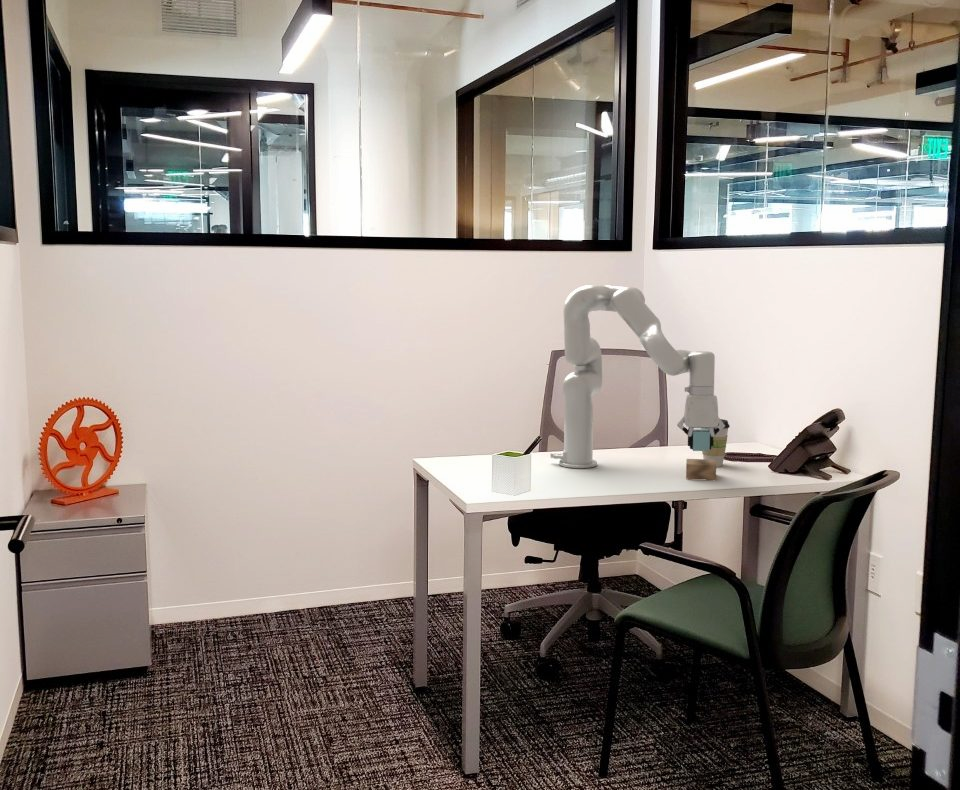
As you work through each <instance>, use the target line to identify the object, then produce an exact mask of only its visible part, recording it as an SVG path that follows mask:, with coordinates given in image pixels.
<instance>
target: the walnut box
mask: <svg viewBox="0 0 960 790" xmlns="http://www.w3.org/2000/svg"><path fill="white" fill-rule="evenodd" d="M685 463H686V464H685V466H686V467H685V469H686V470H685V472H686V473H685V479H686V478H688V479H687V480H691V479H706V480H705V481H713V480H716V481H717V467H716V460H706V459H703V458H701V459H700V458H686V462H685Z"/></svg>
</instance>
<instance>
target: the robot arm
mask: <svg viewBox="0 0 960 790" xmlns="http://www.w3.org/2000/svg"><path fill="white" fill-rule="evenodd" d="M645 302H646V298H645V295H644V293H643V292H642V291H641V290H640V289H638V288H637V287H632V286H627V287H626V286H613V285H605V284H589V285H588V284H587V285H583V286H580V287H578V288H576V289H574V290H573V291H572V292H571V293H570V294H569V295H568V296H567V298H566V300H565V301H564V306H563V328H564V329H563V333H564V334H563V335H564V338H563V339H564V356H565V357H564V358H565V361H566V362H567V364H569V365H570V366H573V367H574V368H575V369H574V371H572V372H570V373H568V375H567V376H566V377H565V378H564V380H563V383H562V396H563V397H562V398H563V409H564V410H563V411H564V412H563V416H564V417H563V418H564V419H563V420H564V421H563V422H564V423H563V428H564V429H563V430H564V431H563V432H564V433H563V450H562V451H559V452H556V451H555V452H553V451H551V452H550V459H554V460H555V459H557V460H558V459H560V460H559V462H558V464H559V466H561V467H565V468H572V469H588V468H589V469H590V468H594V467H596V466H597V465H598V461H597V460H596V459H593V457H594V455H593V454H594V453H593V450H594V449H593V448H594V447H593V446H594V445H593V444H594V443H593V442H594V440H593V439H594V437H593V436H594V406H593V401H592V397H593V396H595V395H596V394H598V393H599V392H600V391H601V389H602V385H603V362H602V349H601V346H600V344H599V342H598V341H597V340H596V339H594V338H593V337H591V323H590V319H589V313H591V312H597V311H601V312H602V311H604V312H605V311H606V312H614V313H617V314H618V315H619V316H620V318H622V321H624V322H625V323H626V324H627V326H628V327H629V328H630V329H631V330H632V331H633V333H634V334H635V335H636V336H637V337H638V340H639V341H640V344H641V345H642V347H643V348H644V350H645V353H647V354H648V356H649V357H650V359H651V360H652V361H653V363H655V365H657V367H658V368H659V369H660V370H661V371H662V372H663V373H665V374H666V375H668V376H671V377H675V376H679V375H682V374H685V373H689V383H688V386H687V387H684V392H686V393H688V395H687V396H686V399H685V403H684V404H685V405H684V413H683V414H684V415H683V416H682V418H680V420H679V421H678V422H677V424H676V426H677V428H679V429H680V430H681V431H683V433H684V434H686V435H687V446H688V447H689V449H690V450H692V449H693V436H692V432H693V429H701V428H708V430H709V431H710V449H711V446H713V437H714V436H715V435H716V434H717V433H718V432H719V431H720V430H721V429H723V428H724V427H725V425H724V423H723V422H722V421H721V420H720V419H721V418H720V417H719V406H718V405H719V404H718V403H719V402H718V397H717V395H715V368H716V367H715V365H716V364H715V363H716V360H715V359H716V357H715V354H714V352H711V351H703V350H700V351H691V350H686V349H677V350H676V349H675V348H674V347H673V346H672V344H671V343H670V342H669V341H668V340H667V338H666V336H665V334H664V333H663V331H662V324H661V321H660V319H659V318H658V317H657V315H656V314H655V313H654V312H653V311H652V310H651V309H650V308H649V307H648V305H647V304H646V303H645ZM718 423H719V426H718ZM717 426H718V427H717ZM715 427H716V428H715ZM713 428H715V429H714V430H713Z"/></svg>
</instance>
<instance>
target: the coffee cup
mask: <svg viewBox="0 0 960 790" xmlns="http://www.w3.org/2000/svg"><path fill="white" fill-rule="evenodd" d="M720 420H721V421H722V422H723V423H724V425H725V427H724V428H723V429H721V430H720V431H719V432H718V433H717V434H716V435H715V436H714V437H713V446H711V449H710V451H701V452H702V453H701V454H702V459H706V460H716V468H718V467H722V466H723V465H724V459H725V455H726V448H727V443H728V435H729V434H728V432H729V428H730V424H729V420H727V419H721V418H720ZM718 426H719V423H718ZM718 426H717V427H718ZM715 428H716V427H715ZM715 428H713V430H714V429H715ZM700 429H708V428H700Z"/></svg>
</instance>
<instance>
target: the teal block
mask: <svg viewBox="0 0 960 790" xmlns="http://www.w3.org/2000/svg"><path fill="white" fill-rule="evenodd" d="M692 436H693V449H691V450H692V452H702V451H710V431H709V430H708V429H701V428H694V429H693V432H692Z"/></svg>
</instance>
